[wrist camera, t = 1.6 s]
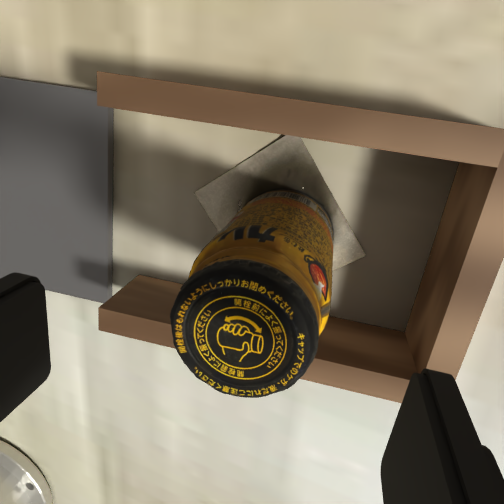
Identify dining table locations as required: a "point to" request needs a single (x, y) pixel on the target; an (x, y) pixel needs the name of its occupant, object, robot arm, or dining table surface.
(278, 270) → the condiment
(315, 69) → the dining table surface
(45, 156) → the mat
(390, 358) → the frame
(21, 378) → the robot arm
